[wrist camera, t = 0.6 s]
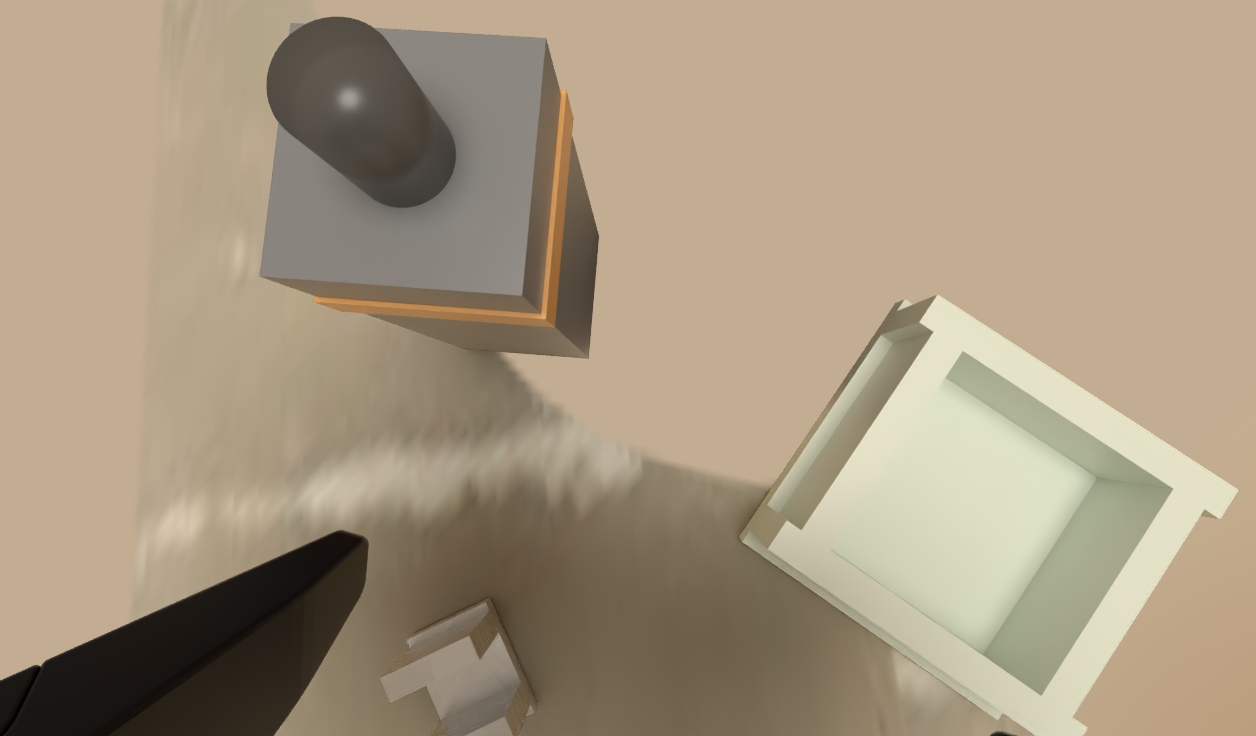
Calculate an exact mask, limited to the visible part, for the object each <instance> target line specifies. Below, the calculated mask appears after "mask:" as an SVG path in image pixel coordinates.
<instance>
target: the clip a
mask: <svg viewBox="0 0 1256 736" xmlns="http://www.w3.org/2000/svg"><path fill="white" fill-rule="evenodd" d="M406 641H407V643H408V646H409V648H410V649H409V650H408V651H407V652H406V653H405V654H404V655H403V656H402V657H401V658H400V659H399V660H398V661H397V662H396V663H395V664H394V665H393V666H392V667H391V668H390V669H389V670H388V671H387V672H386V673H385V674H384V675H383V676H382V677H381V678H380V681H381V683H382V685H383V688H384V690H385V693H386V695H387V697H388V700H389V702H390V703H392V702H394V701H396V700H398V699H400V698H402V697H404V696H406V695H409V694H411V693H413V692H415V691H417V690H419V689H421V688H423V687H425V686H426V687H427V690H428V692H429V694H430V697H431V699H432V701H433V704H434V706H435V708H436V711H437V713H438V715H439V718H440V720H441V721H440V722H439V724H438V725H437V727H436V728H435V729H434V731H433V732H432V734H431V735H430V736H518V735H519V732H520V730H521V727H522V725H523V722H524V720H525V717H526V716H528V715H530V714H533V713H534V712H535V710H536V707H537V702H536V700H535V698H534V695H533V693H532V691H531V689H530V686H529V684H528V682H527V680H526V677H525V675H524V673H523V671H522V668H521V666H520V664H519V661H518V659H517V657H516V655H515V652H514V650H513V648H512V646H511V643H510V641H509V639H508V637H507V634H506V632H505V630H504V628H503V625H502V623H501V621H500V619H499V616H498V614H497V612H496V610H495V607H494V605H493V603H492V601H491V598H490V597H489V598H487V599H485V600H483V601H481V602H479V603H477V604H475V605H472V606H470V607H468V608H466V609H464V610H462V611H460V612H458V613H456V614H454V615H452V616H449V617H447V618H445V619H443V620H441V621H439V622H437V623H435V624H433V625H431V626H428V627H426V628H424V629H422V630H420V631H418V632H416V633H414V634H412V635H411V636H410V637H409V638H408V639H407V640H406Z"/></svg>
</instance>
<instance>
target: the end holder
mask: <svg viewBox="0 0 1256 736" xmlns="http://www.w3.org/2000/svg"><path fill="white" fill-rule="evenodd" d="M1237 492H1238V489H1236V488H1235V487H1233V486H1231V485H1230V484H1228V483H1227V482H1225V481H1224V480H1222V479H1221V478H1219V477H1218V476H1216V475H1215V474H1213V473H1212V472H1210V471H1208V470H1207V469H1205V468H1204V467H1202V466H1201V465H1199V464H1198V463H1196V462H1195V461H1193V460H1192V459H1190V458H1188V457H1187V456H1185V455H1184V454H1182V453H1181V452H1179V451H1178V450H1176V449H1174V448H1173V447H1171V446H1170V445H1169V444H1167V443H1165V442H1164V441H1162V440H1161V439H1159V438H1158V437H1156V436H1155V435H1153V434H1152V433H1150V432H1149V431H1147V430H1145V429H1144V428H1142V427H1141V426H1139V425H1138V424H1136V423H1135V422H1133V421H1132V420H1130V419H1128V418H1127V417H1125V416H1124V415H1122V414H1121V413H1119V412H1118V411H1116V410H1115V409H1113V408H1112V407H1110V406H1109V405H1107V404H1105V403H1104V402H1102V401H1101V400H1099V399H1098V398H1096V397H1095V396H1093V395H1092V394H1090V393H1088V392H1087V391H1085V390H1084V389H1082V388H1081V387H1079V386H1078V385H1076V384H1074V383H1073V382H1072V381H1070V380H1068V379H1067V378H1065V377H1064V376H1062V375H1061V374H1059V373H1058V372H1056V371H1055V370H1053V369H1052V368H1050V367H1049V366H1047V365H1045V364H1044V363H1042V362H1040V361H1039V360H1038V359H1036V358H1035V357H1033V356H1032V355H1030V354H1029V353H1027V352H1025V351H1024V350H1022V349H1021V348H1019V347H1018V346H1016V345H1015V344H1013V343H1012V342H1010V341H1008V340H1007V339H1005V338H1004V337H1002V336H1001V335H999V334H998V333H996V332H995V331H993V330H992V329H990V328H988V327H987V326H985V325H984V324H982V323H981V322H979V321H978V320H976V319H975V318H973V317H972V316H970V315H968V314H967V313H965V312H964V311H962V310H961V309H959V308H958V307H956V306H955V305H953V304H952V303H950V302H948V301H947V300H945V299H944V298H942V297H941V296H939V295H935V296H933V297H930V298H928V299H926V300H923V301H921V302H918V303H916V304H912V303H910V302H908V301H907V300H905V299H904V300H902V301H900V302H897V303H895V305H894V307H893V308H892V309H891V311H890V312H889V314H888V316H887V317H886V318H885V320H884V321H883V323H882V324H881V326H880V327H879V329H878V330H877V332H876V334H875V335H874V336H873V338H872V339H871V341H870V342H869V344H868V345H867V347H866V348H865V350H864V351H863V353H862V354H861V356H860V357H859V359H858V360H857V362H856V363H855V365H854V366H853V368H852V369H851V370H850V372H849V373H848V375H847V377H846V378H845V379H844V381H843V383H842V384H841V386H840V387H839V388H838V390H837V391H836V393H835V394H834V396H833V397H832V399H831V400H830V402H829V403H828V405H827V407H826V408H825V409H824V411H823V412H822V414H821V415H820V417H819V418H818V420H817V421H816V423H815V424H814V426H813V427H812V429H811V430H810V432H809V433H808V435H807V436H806V438H805V439H804V441H803V442H802V444H801V445H800V447H799V448H798V450H797V451H796V452H795V454H794V455H793V457H792V458H791V460H790V461H789V463H788V464H787V466H786V468H785V469H784V470H783V472H782V473H781V475H780V476H779V478H778V479H777V481H776V482H775V484H774V485H773V487H772V488H771V490H770V491H769V493H768V494H767V496H766V497H765V499H764V500H763V502H762V503H761V505H760V506H759V508H758V509H757V511H756V512H755V514H754V515H753V517H752V518H751V520H750V521H749V523H748V524H747V525H746V527H745V528H744V530H743V531H742V533H741V534H740V536H739V538H740V540H741V541H742V542H743V543H744V544H746V545H747V546H749V547H750V548H751V549H753V550H754V551H756V552H757V553H759V554H760V555H762V556H763V557H764V558H766V559H767V560H769V561H770V562H772V563H773V564H774V565H776V566H777V567H779V568H780V569H782V570H783V571H784V572H786V573H787V574H789V575H790V576H792V577H793V578H795V579H796V580H797V581H799V582H800V583H802V584H803V585H805V586H806V587H807V588H809V589H810V590H812V591H813V592H815V593H816V594H817V595H819V596H820V597H822V598H823V599H825V600H826V601H827V602H829V603H830V604H832V605H833V606H835V607H836V608H838V609H839V610H840V611H842V612H843V613H845V614H846V615H848V616H849V617H850V618H852V619H853V620H855V621H856V622H858V623H859V624H860V625H862V626H863V627H865V628H866V629H868V630H869V631H870V632H872V633H873V634H875V635H876V636H878V637H879V638H881V639H882V640H883V641H885V642H886V643H888V644H889V645H891V646H892V647H893V648H895V649H896V650H898V651H899V652H901V653H902V654H903V655H905V656H906V657H908V658H909V659H911V660H912V661H914V662H915V663H916V664H918V665H919V666H921V667H922V668H924V669H925V670H926V671H928V672H929V673H931V674H932V675H934V676H935V677H936V678H938V679H939V680H941V681H942V682H944V683H945V684H946V685H948V686H949V687H951V688H952V689H954V690H955V691H957V692H958V693H959V694H961V695H962V696H964V697H965V698H967V699H968V700H969V701H971V702H972V703H974V704H975V705H977V706H978V707H979V708H981V709H982V710H984V711H985V712H987V713H988V714H990V715H991V716H992V717H994V718H995V719H997V720H999V718H1000V717H1001V715H1002V714H1003V713H1004V714H1005V715H1007V716H1008V717H1010V718H1011V719H1012V720H1014V721H1015V722H1017V723H1018V724H1020V725H1021V726H1023V727H1024V728H1025V729H1027V730H1028V731H1030V732H1031V733H1033V734H1034V735H1035V736H1083V735H1084V733H1085V732H1086V730H1087V729H1088V728H1087V727H1085V726H1084V725H1083V724H1081V723H1080V722H1078V721H1077V720H1076V719H1074V718H1073V715H1074V713H1075V712H1076V711H1077V709H1078V708H1079V706H1080V704H1081V703H1082V701H1083V700H1084V698H1085V696H1086V695H1087V693H1088V692H1089V690H1090V689H1091V687H1092V686H1093V684H1094V682H1095V681H1096V679H1097V678H1098V676H1099V674H1100V673H1101V671H1102V670H1103V668H1104V667H1105V665H1106V663H1107V662H1108V660H1109V659H1110V657H1111V656H1112V654H1113V652H1114V651H1115V649H1116V648H1117V646H1118V645H1119V643H1120V641H1121V640H1122V638H1123V637H1124V635H1125V633H1126V632H1127V630H1128V629H1129V627H1130V626H1131V624H1132V622H1133V621H1134V619H1135V618H1136V616H1137V615H1138V613H1139V612H1140V610H1141V608H1142V607H1143V605H1144V603H1145V602H1146V600H1147V599H1148V597H1149V595H1150V594H1151V592H1152V591H1153V589H1154V588H1155V586H1156V585H1157V583H1158V581H1159V580H1160V578H1161V577H1162V575H1163V574H1164V572H1165V571H1166V569H1167V567H1168V566H1169V564H1170V563H1171V561H1172V560H1173V558H1174V556H1175V555H1176V553H1177V552H1178V550H1179V549H1180V547H1181V545H1182V544H1183V542H1184V540H1185V539H1186V537H1187V536H1188V534H1189V533H1190V531H1191V530H1192V528H1193V526H1194V525H1195V523H1196V522H1197V520H1198V519H1199V516H1205V517H1210V518H1216V519H1221V517H1222V515H1223V514H1224V512H1225V511H1226V509H1227V507H1228V506H1229V504H1230V503H1231V501H1232V500H1233V498H1234V497H1235V495H1236V493H1237Z"/></svg>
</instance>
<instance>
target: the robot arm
mask: <svg viewBox="0 0 1256 736" xmlns="http://www.w3.org/2000/svg"><path fill="white" fill-rule="evenodd" d="M368 547H369V546H368V540H367V539H366V538H365V537H364V536H361V535H358V534H354V533H351V532H348V531H344V530H339V531H335V532H333V533H330V534H328V535H326V536H324V537H321V538H319V539H317V540H315V541H313V542H310V543H308V544H306V545H304V546H301V547H299V548H297V549H295V550H292V551H290V552H288V553H286V554H283V555H281V556H279V557H277V558H274V559H272V560H270V561H268V562H265V563H263V564H261V565H259V566H256V567H254V568H252V569H250V570H248V571H245V572H243V573H241V574H239V575H236V576H234V577H232V578H230V579H227V580H225V581H223V582H221V583H218V584H216V585H214V586H212V587H209V588H207V589H205V590H203V591H200V592H198V593H196V594H194V595H191V596H189V597H187V598H185V599H182V600H180V601H178V602H176V603H174V604H171V605H169V606H167V607H165V608H162V609H160V610H158V611H156V612H153V613H151V614H149V615H147V616H144V617H142V618H140V619H138V620H135V621H133V622H131V623H129V624H126V625H124V626H122V627H120V628H117V629H115V630H113V631H111V632H109V633H106V634H104V635H102V636H100V637H97V638H95V639H93V640H91V641H88V642H86V643H84V644H82V645H79V646H77V647H75V648H73V649H71V650H68V651H66V652H64V653H62V654H59V655H57V656H55V657H52V658H50V659H48V660H46V661H45V662H44V663H43V664H42V666H41V667H40V666H39V665H34V666H32V667H30V668H28V669H25V670H23V671H21V672H18V673H16V674H14V675H12V676H9V677H7V678H5V679H3V680H0V736H274V734H275V733H276V732H277V730H278V729H279V728H280V726H281V725H282V723H283V722H284V721H285V719H286V718H287V717H288V715H289V714H290V712H291V711H292V709H293V708H294V706H295V705H296V704H297V702H298V701H299V699H300V698H301V696H302V695H303V693H304V691H305V690H306V688H307V686H308V685H309V683H310V681H311V680H312V678H313V676H314V675H315V673H316V671H317V670H318V668H319V666H320V664H321V663H322V661H323V659H324V658H325V656H326V654H327V652H328V651H329V649H330V647H331V646H332V644H333V642H334V640H335V639H336V637H337V635H338V634H339V632H340V630H341V628H342V627H343V625H344V623H345V622H346V620H347V618H348V616H349V615H350V613H351V611H352V610H353V608H354V606H355V605H356V603H357V601H358V599H359V597H360V596H361V593H362V591H363V588H364V585H365V580H366V570H367V559H368ZM990 736H1016V735H1013V734H1009V733H1006V732H1003V731H997V732H995V733H992V734H991V735H990Z"/></svg>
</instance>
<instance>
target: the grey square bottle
mask: <svg viewBox="0 0 1256 736" xmlns="http://www.w3.org/2000/svg"><path fill="white" fill-rule="evenodd" d="M267 96H268V101H269V104H270V107H271V110H272V112H273V114H274V116H275V118H276V119H277V121H278V122H279V123H278V131H277V139H276V147H275V155H274V163H273V172H272V180H271V188H270V196H269V204H268V212H267V220H266V228H265V237H264V245H263V253H262V261H261V269H260V277H263V278H266V279H268V280H271V281H274V282H277V283H280V284H283V285H285V286H288V287H291V288H294V289H297V290H300V291H302V292H305V293H308V294H311V295H314V298H313V302H315V303H318V304H321V305H324V306H327V307H330V308H333V309H336V310H339V311H342V312H355V313H365V314H368V315H370V316H373V317H376V318H379V319H382V320H385V321H387V322H390V323H393V324H396V325H399V326H401V327H404V328H407V329H410V330H413V331H416V332H418V333H421V334H424V335H427V336H430V337H433V338H435V339H438V340H441V341H444V342H447V343H450V344H452V345H455V346H458V347H461V348H464V349H472V350H484V351H497V352H510V353H524V354H537V355H550V356H562V357H575V358H589V348H590V336H591V324H592V312H593V300H594V288H595V276H596V265H597V253H598V241H599V235H598V231H597V227H596V223H595V220H594V216H593V212H592V208H591V205H590V201H589V197H588V194H587V190H586V186H585V183H584V178H583V175H582V171H581V167H580V164H579V160H578V156H577V152H576V149H575V145H574V141H573V137H572V128H573V115H572V111H571V107H570V103H569V99H568V94H567V91H566V90H560V89H559V85H558V81H557V77H556V74H555V70H554V66H553V62H552V59H551V55H550V51H549V48H548V44H547V40H546V38H533V37H516V36H500V35H483V34H467V33H450V32H432V31H415V30H399V29H382V28H373V27H371V26H370V25H368V24H366V23H364V22H361V21H359V20H355V19H352V18H346V17H329V18H322V19H318V20H314V21H312V22H309V23H307V24H298V23H291V25H290V33H289V36H288V37H287V38H286V39H285V40H284V41H283V43H282V44H281V45H280V46H279V48H278V49H277V51H276V52H275V54H274V56H273V59H272V61H271V64H270V67H269V70H268V75H267Z"/></svg>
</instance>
